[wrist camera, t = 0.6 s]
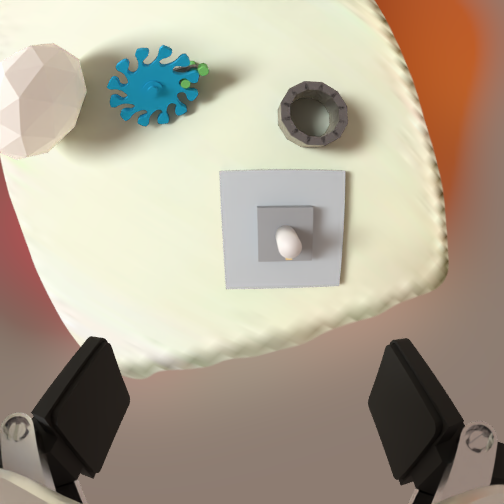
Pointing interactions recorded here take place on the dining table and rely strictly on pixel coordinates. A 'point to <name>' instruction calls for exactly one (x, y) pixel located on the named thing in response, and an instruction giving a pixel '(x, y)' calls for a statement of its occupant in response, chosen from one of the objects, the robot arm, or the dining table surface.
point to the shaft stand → (282, 227)
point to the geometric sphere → (38, 99)
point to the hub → (324, 96)
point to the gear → (156, 85)
